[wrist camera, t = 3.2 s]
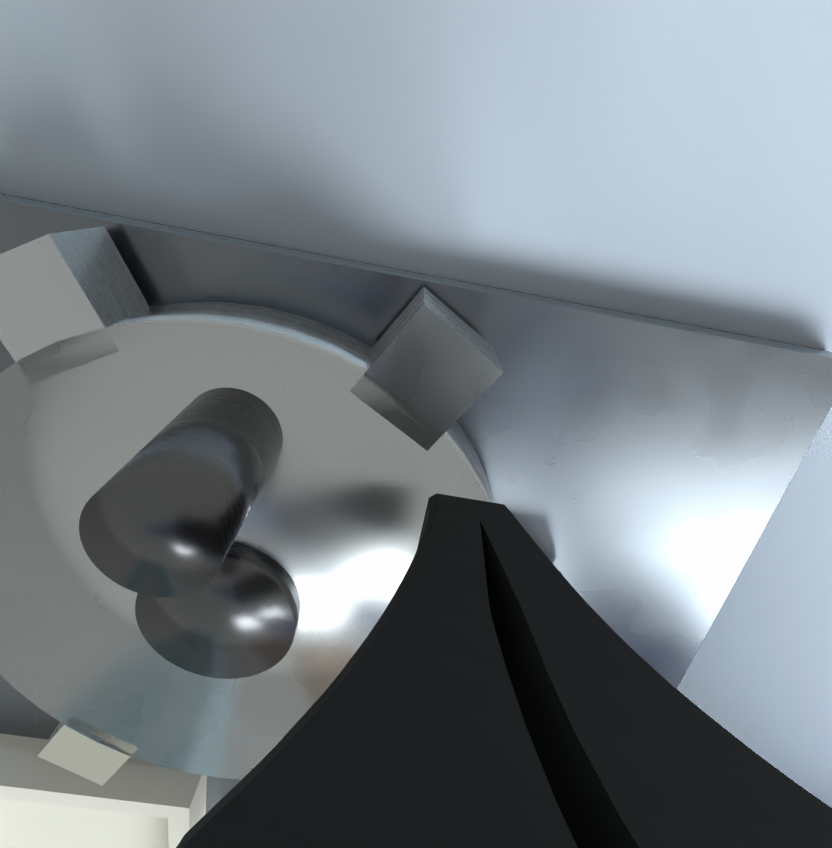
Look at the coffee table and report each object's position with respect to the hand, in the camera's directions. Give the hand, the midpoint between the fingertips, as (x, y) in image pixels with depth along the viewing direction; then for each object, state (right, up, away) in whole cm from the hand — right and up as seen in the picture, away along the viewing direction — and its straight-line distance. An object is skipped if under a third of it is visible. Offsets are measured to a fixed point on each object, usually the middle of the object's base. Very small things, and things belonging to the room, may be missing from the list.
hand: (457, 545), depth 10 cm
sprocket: (-5, -1, +3) cm, 6 cm away
